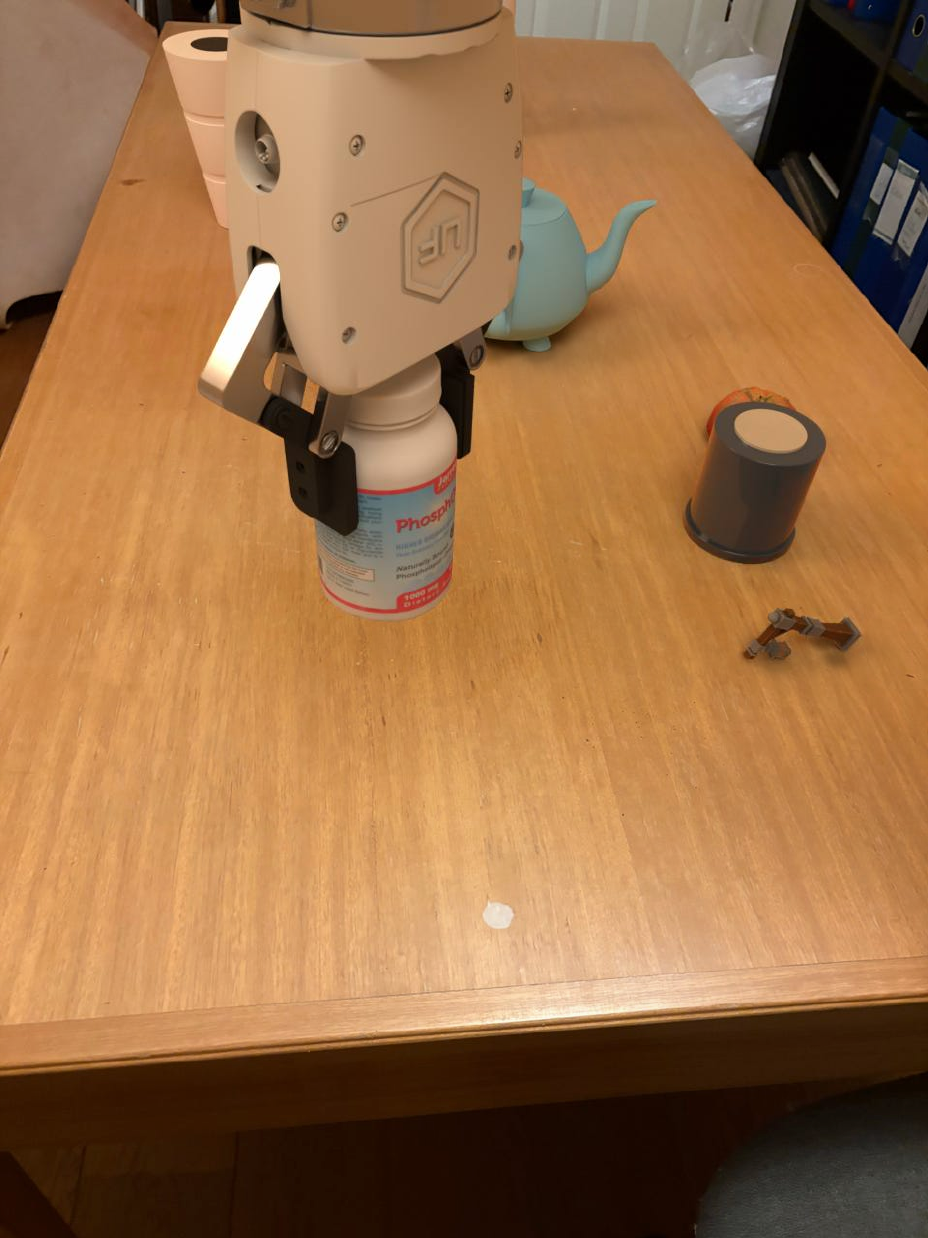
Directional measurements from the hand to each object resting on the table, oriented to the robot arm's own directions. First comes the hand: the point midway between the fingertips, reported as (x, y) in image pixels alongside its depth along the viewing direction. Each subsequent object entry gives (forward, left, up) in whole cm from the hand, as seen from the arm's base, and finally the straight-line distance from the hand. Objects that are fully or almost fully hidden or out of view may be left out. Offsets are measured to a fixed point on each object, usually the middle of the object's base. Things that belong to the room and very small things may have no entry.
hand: (384, 476), depth 39 cm
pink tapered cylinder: (+67, -44, -23) cm, 83 cm away
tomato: (+2, -47, -23) cm, 52 cm away
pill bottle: (0, 0, -6) cm, 6 cm away
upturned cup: (-3, -36, -23) cm, 43 cm away
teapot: (+30, -48, -23) cm, 61 cm away
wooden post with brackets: (-13, -27, -23) cm, 38 cm away
